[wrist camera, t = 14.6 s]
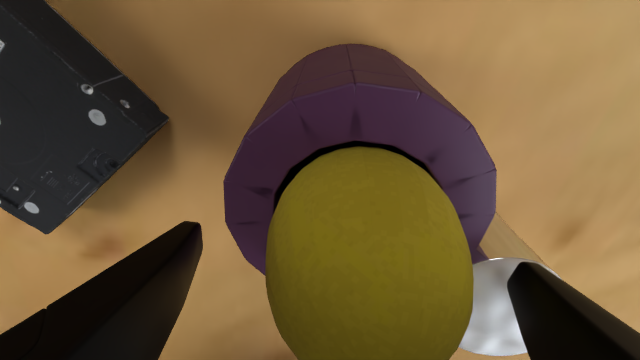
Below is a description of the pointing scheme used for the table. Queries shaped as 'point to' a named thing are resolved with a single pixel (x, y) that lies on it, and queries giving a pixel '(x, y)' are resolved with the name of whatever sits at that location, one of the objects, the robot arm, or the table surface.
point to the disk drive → (61, 115)
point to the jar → (354, 139)
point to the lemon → (368, 261)
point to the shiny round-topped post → (496, 292)
